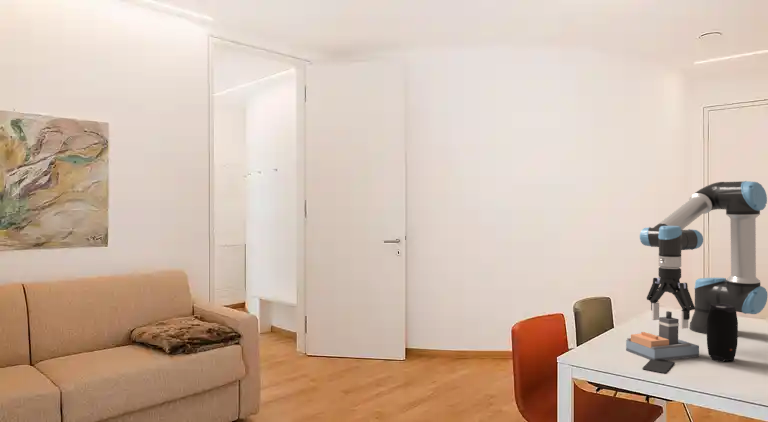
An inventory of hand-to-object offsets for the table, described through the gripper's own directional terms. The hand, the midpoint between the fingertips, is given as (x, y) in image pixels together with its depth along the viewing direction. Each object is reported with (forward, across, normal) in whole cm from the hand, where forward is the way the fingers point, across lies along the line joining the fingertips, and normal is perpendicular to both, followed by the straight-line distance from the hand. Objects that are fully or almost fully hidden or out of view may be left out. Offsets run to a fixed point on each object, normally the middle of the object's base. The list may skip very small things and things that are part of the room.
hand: (669, 323), depth 203 cm
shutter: (+7, 0, -9) cm, 11 cm away
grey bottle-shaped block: (+10, 0, -1) cm, 10 cm away
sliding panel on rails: (+11, 0, -4) cm, 11 cm away
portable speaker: (+11, +12, +12) cm, 20 cm away
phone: (+11, +12, -17) cm, 23 cm away
